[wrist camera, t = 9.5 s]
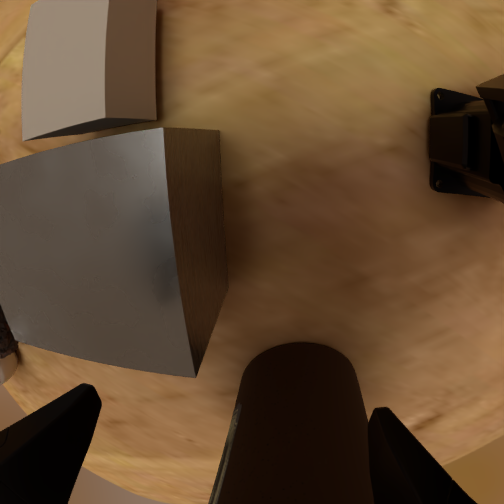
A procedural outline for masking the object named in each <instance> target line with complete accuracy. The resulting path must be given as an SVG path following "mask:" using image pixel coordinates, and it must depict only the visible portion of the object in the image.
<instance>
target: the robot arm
mask: <svg viewBox="0 0 504 504" xmlns="http://www.w3.org/2000/svg"><path fill="white" fill-rule="evenodd" d="M476 88H477V91H478V93H479V95H480V97H481V98H483V99H481V98H477V97H474V96H470V95H467V94H463V93H459V92H455V91H451V90H447V89H442V88H436V89H434V90H432V92H431V106H432V116H431V117H430V144H429V158H430V159H431V175H430V186H431V188H432V189H433V190H434V191H437V192H443V193H453V194H463V195H472V196H481V197H489V198H493V199H495V200H497V201H500V202H502V203H504V74H503V75H500V76H498V77H496V78H493V79H491V80H489V81H486V82H484V83H482V84H480V85H477V86H476ZM437 93H440V95H441V99H439V98H438V96H437ZM438 180H439V181H440V185H439V186H438V187H437V186H436V182H437V181H438ZM101 406H102V402H101V399H100V397H99V395H98V393H97V391H96V389H95V387H94V386H93V385H90V384H86V383H82V384H80V385H78V386H77V387H75V388H74V389H72V390H70V391H69V392H67V393H65V394H64V395H62V396H60V397H59V398H57V399H55V400H53V401H52V402H50V403H48V404H47V405H45V406H43V407H42V408H40V409H38V410H37V411H35V412H33V413H31V414H30V415H28V416H26V417H25V418H23V419H21V420H19V421H18V422H16V423H14V424H13V425H11V426H10V427H7V428H6V429H4V430H2V431H0V504H68V501H69V498H70V496H71V493H72V490H73V487H74V485H75V482H76V479H77V476H78V474H79V471H80V469H81V466H82V464H83V461H84V458H85V456H86V453H87V451H88V448H89V446H90V443H91V440H92V437H93V434H94V430H95V427H96V424H97V420H98V417H99V413H100V410H101ZM368 448H369V471H370V478H371V485H372V491H373V498H374V504H477V503H476V502H475V501H474V500H473V499H472V498H470V497H469V496H468V494H467V493H466V492H465V491H463V490H462V488H461V487H460V486H459V485H458V484H457V483H456V482H455V481H454V480H452V478H451V476H450V475H449V474H448V473H447V472H446V471H445V470H444V469H443V468H442V466H441V465H440V464H439V463H438V462H437V461H436V460H435V459H434V458H433V456H432V455H431V454H430V453H429V452H428V451H427V450H426V449H425V448H424V447H423V445H422V444H421V443H420V442H419V441H418V440H417V439H416V438H415V437H414V435H413V434H412V433H411V432H410V431H409V430H408V429H407V428H406V427H405V425H404V424H403V423H402V422H401V421H400V420H399V419H398V418H397V417H396V415H395V414H394V413H393V412H392V411H391V410H390V409H389V408H388V407H378V408H375V409H374V410H373V413H372V415H371V418H370V420H369V423H368Z"/></svg>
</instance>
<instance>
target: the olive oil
mask: <svg viewBox="0 0 504 504" xmlns="http://www.w3.org/2000/svg"><path fill="white" fill-rule="evenodd" d="M208 504H374V498H373V491H372V485H371V478H370V471H369V448H368V419H367V415H366V411H365V407H364V403H363V399H362V395H361V391H360V387H359V383H358V380H357V376H356V373H355V370H354V368H353V366H352V364H351V363H350V361H349V360H348V359H347V358H346V357H345V356H344V355H342V354H341V353H339V352H338V351H336V350H334V349H331V348H329V347H326V346H322V345H317V344H308V343H297V344H288V345H283V346H279V347H276V348H273V349H270V350H268V351H266V352H264V353H262V354H261V355H259V356H258V357H256V358H255V359H254V360H253V361H252V362H251V363H250V364H249V365H248V366H247V368H246V369H245V371H244V373H243V376H242V379H241V383H240V387H239V392H238V396H237V400H236V404H235V409H234V412H233V416H232V420H231V424H230V428H229V432H228V435H227V439H226V443H225V447H224V450H223V454H222V458H221V461H220V465H219V468H218V472H217V476H216V479H215V483H214V486H213V490H212V493H211V496H210V500H209V503H208Z"/></svg>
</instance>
